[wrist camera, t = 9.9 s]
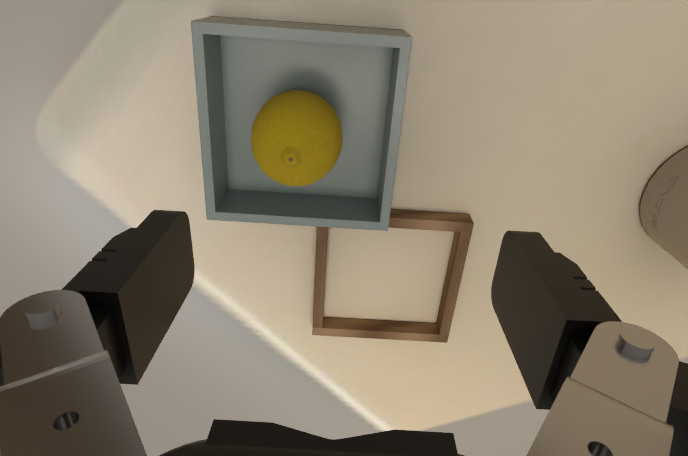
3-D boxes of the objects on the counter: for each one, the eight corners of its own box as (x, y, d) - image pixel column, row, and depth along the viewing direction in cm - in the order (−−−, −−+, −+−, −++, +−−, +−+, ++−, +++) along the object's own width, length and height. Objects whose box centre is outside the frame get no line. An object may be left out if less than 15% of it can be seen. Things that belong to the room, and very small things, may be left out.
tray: (469, 214, 36) (473, 223, 34) (443, 330, 41) (447, 342, 40) (318, 204, 35) (317, 213, 34) (313, 323, 41) (312, 334, 40)
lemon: (322, 171, 33) (315, 221, 26) (251, 138, 32) (223, 181, 25) (357, 102, 31) (360, 137, 24) (282, 64, 30) (261, 88, 23)
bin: (403, 30, 30) (412, 37, 26) (383, 202, 35) (387, 230, 31) (212, 15, 29) (190, 21, 25) (222, 192, 35) (206, 219, 31)
